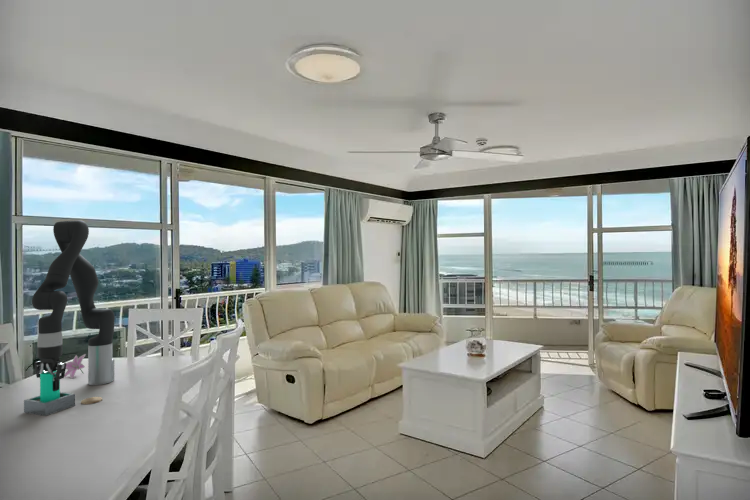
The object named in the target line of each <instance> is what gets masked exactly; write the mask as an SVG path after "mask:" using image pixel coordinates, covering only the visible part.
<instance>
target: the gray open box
mask: <svg viewBox="0 0 750 500" xmlns="http://www.w3.org/2000/svg"><path fill="white" fill-rule="evenodd" d="M75 406H76V393H73V392H71V393H70V392H64V391H60V398H57V399H54V400H51V401H48V402H42V401H40V395H36V396H34V397H31V398H26V399H24V400H23V413H24V414H30V415H38V416H43V417H44V416H49V415H51V414H55V413H57V412H60V411H63V410H66V409H69V408H72V407H75Z"/></svg>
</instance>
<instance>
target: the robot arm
mask: <svg viewBox="0 0 750 500" xmlns="http://www.w3.org/2000/svg"><path fill="white" fill-rule="evenodd" d="M52 228H53V229H52V231H53V232H52V233H53V236H54V239H55V241H56V244H57V246H58V248H59V250H60V252H61V253H60V254H59V255H58V256H57V257H56V258H55V259H54V260H53V261H52V262H51V264H50V265H49V268H48V271H47V274H46V277H45V279H44V280H43V281H42V283H41V284H40V285H39V287H38V289H37V290H36V291H35V292H34V293H33V296H32V298H31V304H32V307H33V308H34V309H35V310H38V311H47V310H49V311H50V310H52V311H51V314H50V315H46V316H45V315H44V316H41V317H40V318H39V319H38V322H37V325H38V327H37V328H38V333H37V334H38V335H37V346H36V347H37V348H36V349H37V359H39V360H38V361H34V363H33V364H34V371H35V375H36V378H37V379H38V378H39V379H40V374H45V373H48V372H49V374H50V375H52V381H53V391H57V390H59V381H60V382H61V380H62V379H64V378H65V377H64V375H65V373H66V371H67V369H66V363H67V362H64V363H63V362H62V361H61V359H60V357H61V356H63V351H64V350H63V348H64V347H63V346H64V345H63V344H64V343H63V342H64V340H63V338H64V337H63V331H62V330H63V327H62V326H63V323H62V322H63V317H64V313H65V310H66V307H67V305H68V296H67V294H66V293H65V291H62V290H61V289H64V288H65V287H67V284H68V282H69V278H70V279H71V282H72V285H73V287H74V290H75V293H76V296H77V299H78V303H79V307H80V312H81V317H82V321H83V324H84V326H85V327H86V328H87V329H89V330H98V334H97V335H95V336H93V337H92V336H91V337H90V338H89V339H88V340H87V345H88V346H87V348H88V349H87V350H88V351H87V355H88V356H87V358H88V359H87V361H88V362H87V369H88V371H87V373H88V374H87V375H88V376H87V377H88V378H87V381H88V382H87V385H89V386H99V385H105V384H109V383H112V382H113V381H115V359H114V358H113V339H114V335H115V323H116V322H115V320H116V319H115V312H114V311H113V309H111V308H97V307H96V305H95V300H94V296H95V294H96V291H97V288H98V286H99V277H98V274H97V272H96V268H95V266H94V265H92V263H91V262H90V261H89V260H88V259H86V258H85V257H84V256H83V255H82V254H81V251H82V250H83V247H84V246H85V245H86V244H85V243H87V240H88V238H89V234H90V229H89V226H88V224H87V222H86V221H83V220H81V219H80V220H79V219H78V220H58V221H57V222H55V223H54V225H53V227H52ZM54 371H56V372H54ZM55 374H56V377H55Z"/></svg>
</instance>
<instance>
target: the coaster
mask: <svg viewBox="0 0 750 500" xmlns="http://www.w3.org/2000/svg"><path fill="white" fill-rule="evenodd" d="M102 401H103V397H101V396H93V397H91V396H90V397H87V398H84V399H82V400H80V404H81V405H93V404H97V403H100V402H102Z"/></svg>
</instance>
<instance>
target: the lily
mask: <svg viewBox="0 0 750 500" xmlns="http://www.w3.org/2000/svg"><path fill="white" fill-rule="evenodd" d="M86 355H87V354H86V353H84V354H82V355H80V356H78V355H77V354H76V355H75V356H74V358H73V359H72V361H68V362H65V363H66V371H65V375H64V378H65V377H67V376H69V377H70V379H73V378H74V377H75V375H76V373H77V371H78V370H80V371H81V373H82V374H84V371H83V370H82V369H84V368H86V367H85V365H84V364H83V363H82V362H83V360H84V358H85V357H86Z"/></svg>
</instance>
